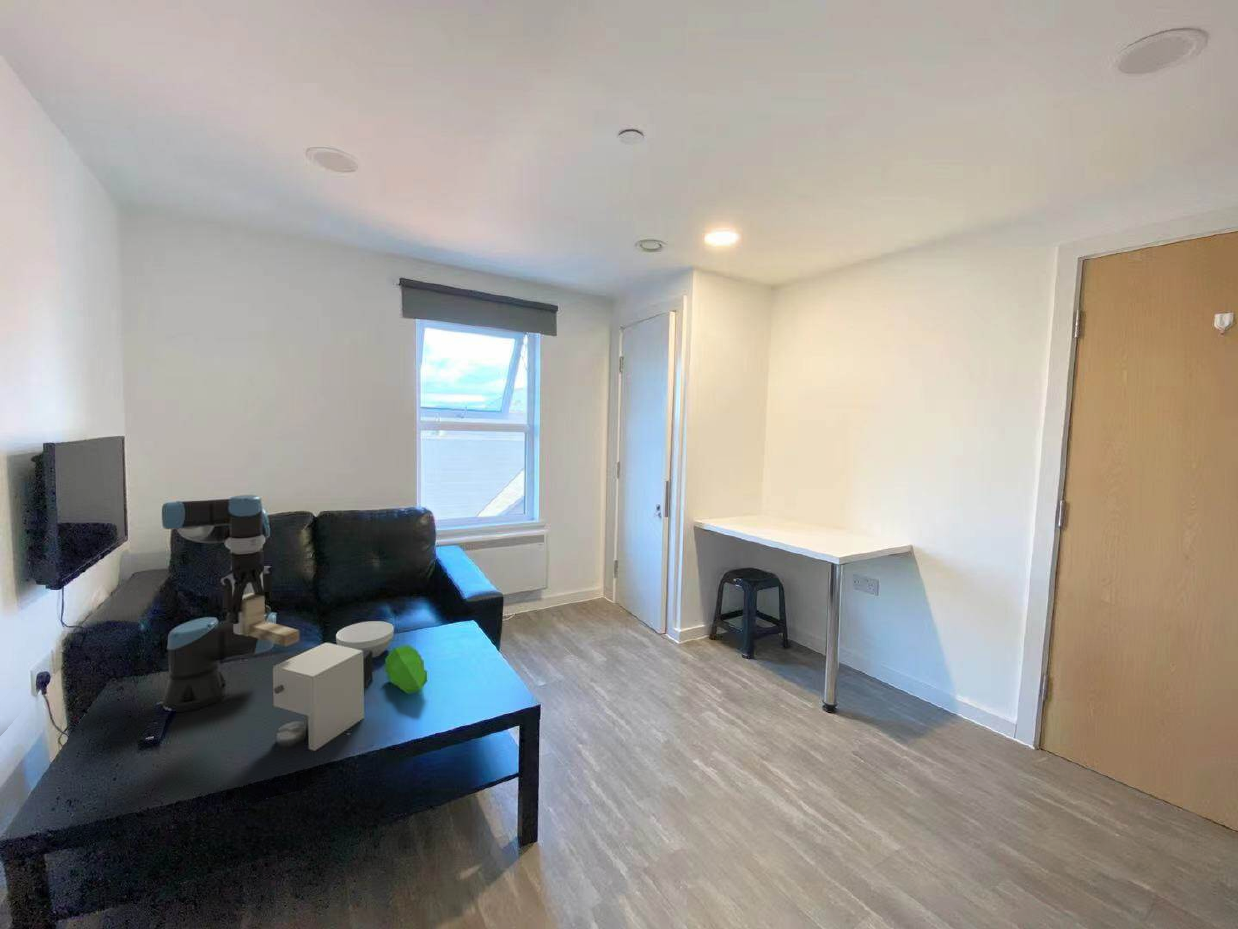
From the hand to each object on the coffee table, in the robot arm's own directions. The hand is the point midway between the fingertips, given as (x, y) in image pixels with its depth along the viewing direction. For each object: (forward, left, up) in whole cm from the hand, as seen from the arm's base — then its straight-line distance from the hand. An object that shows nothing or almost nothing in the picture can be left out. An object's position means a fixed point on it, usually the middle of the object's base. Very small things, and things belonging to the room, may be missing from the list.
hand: (249, 629), depth 148 cm
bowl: (+1, +41, -25) cm, 48 cm away
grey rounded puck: (+22, -5, -25) cm, 33 cm away
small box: (+14, +23, -25) cm, 36 cm away
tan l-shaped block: (+8, 0, 0) cm, 8 cm away
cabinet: (+25, +2, -25) cm, 35 cm away
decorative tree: (+31, +28, -25) cm, 48 cm away
